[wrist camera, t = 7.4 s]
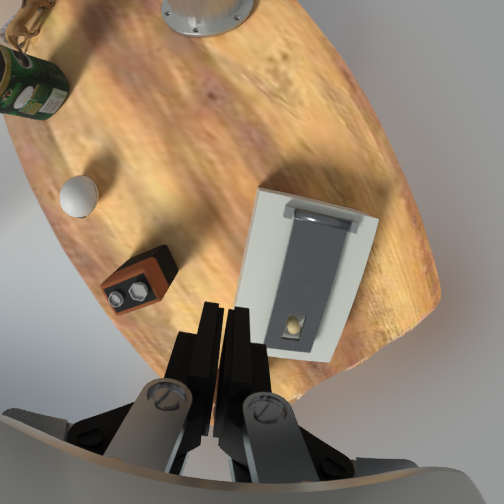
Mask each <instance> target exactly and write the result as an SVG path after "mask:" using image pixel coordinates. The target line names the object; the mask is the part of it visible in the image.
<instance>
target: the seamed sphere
mask: <svg viewBox="0 0 504 504" xmlns="http://www.w3.org/2000/svg"><path fill="white" fill-rule="evenodd" d="M98 198H99V192H98V188H97V186H96V184H95V183H94V181H93V180H92V179H91V178H89V177H86V176H83V175H77V176H74V177H72V178H70V179H68V180H67V181H66V182H65V184H64V185H63V187H62V189H61V192H60V203H61V207H62V208H63V210H64V211H65V212H66V213H67V214H68V215H70V216H72V217H76V218H85V217H86V216H87V215H88V214H90V213H91V212H92V211H93V210H94V208H96V205H97V202H98ZM99 209H100V208H99ZM103 210H104V209H103Z"/></svg>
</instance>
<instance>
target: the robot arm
mask: <svg viewBox="0 0 504 504" xmlns="http://www.w3.org/2000/svg"><path fill="white" fill-rule="evenodd" d="M253 4H254V0H163V1H162V5H161V13H162V17H163V19H164V21H165V23H166V24H167V25H168V26H169V28H171V29H172V30H173V31H175V32H177V33H179V34H181V35H184V36H188V37H196V38H202V37H212V36H217V35H220V34H224V33H226V32H228V31H231V30H233V29H234V28H236V27H238V26H239V25H241V24H242V23H243V22H244V21H245V20H246V19H247V18H248V16H249V15H250V13H251V11H252V9H253ZM195 32H197V33H195ZM223 315H224V308H219V304H218V303H212V302H206V301H205V303H204V307H203V311H202V315H201V319H200V323H199V328H198V332H197V334H192V333H186V332H181V331H179V333H178V335H177V338H176V341H175V344H174V348H173V351H172V354H171V357H170V360H169V363H168V366H167V370H166V373H165V376H164V378H159V379H155V380H152V381H151V382H149V383H147V384H146V385H145V386H144V388H143V389H142V391H141V392H140V394H139V396H138V398H137V399H136V401H135V402H133V403H130V404H127V405H125V406H122V407H119V408H116V409H114V410H111V411H108V412H105V413H102V414H99V415H96V416H93V417H90V418H88V419H84V420H81V421H79V422H77V423H75V424H71V423H68V421H67V420H65V419H60V418H55V417H50V416H46V415H41V414H37V413H33V412H29V411H26V410H22V409H18V408H11V409H7V410H6V411H4V412H3V413H2V414H0V504H486V502H485V500H484V499H483V497H482V495H481V493H480V491H479V490H478V488H477V486H476V485H475V483H474V482H473V481H472V480H471V479H470V477H469V476H468V475H466V474H465V473H464V472H462V471H459V470H456V469H453V468H447V467H418V466H417V465H416V464H415V463H414V462H412V461H410V460H407V459H376V458H359V457H356V458H355V459H354V460H350V459H349V458H348V457H347V456H345V455H344V454H342V453H340V452H339V451H337V450H336V449H334V448H333V447H331V446H329V445H328V444H326V443H324V442H323V441H321V440H320V439H318V438H317V437H315V436H314V435H312V434H311V433H309V432H308V431H306V430H305V429H303V428H302V427H300V426H299V425H298V423H297V420H296V418H295V415H294V412H293V410H292V407H291V406H290V404H289V402H288V401H286V400H285V399H284V398H283V397H281V396H279V395H277V394H274V393H272V391H271V382H270V373H269V364H268V355H267V347H266V344H261V343H252V342H251V337H250V311H249V308H244V307H238V306H235V307H234V310H232V309H229V310H228V316H227V322H226V328H225V334H224V340H223V346H222V352H221V358H220V365H219V374H218V385H217V395H216V406H215V418H214V430H213V437H218V438H219V444H218V446H220V448H221V449H222V450H223V451H224V452H225V453H226V454H228V455H229V467H230V473H231V478H232V482H226V481H216V480H207V479H200V478H193V477H186V476H182V473H183V470H184V467H185V464H186V462H187V459H188V456H189V451H191V450H192V449H194V448H196V447H198V446H200V443H201V435H202V436H208V432H209V425H210V419H211V412H212V406H213V399H214V392H215V386H216V379H217V370H218V360H219V351H220V341H221V332H222V323H223Z"/></svg>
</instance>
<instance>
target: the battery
mask: <svg viewBox="0 0 504 504" xmlns="http://www.w3.org/2000/svg"><path fill="white" fill-rule="evenodd" d="M177 273H178V268H177V266H176V264H175V262H174V260H173V258H172V256H171V253H170V251H169V249H168V247H167V246H166V245H162V246H159V247H157V248H154V249H152V250H150V251H147V252H145V253H143V254H140V255H138V256H136V257H133V258H131V259H129V260H127V261H126V262H125V263H124V264H123V265H122V266H120V267H119V268H118V269H117V270H116V271H115V272H114V273H113V274H111V275H110V276H109V277H108V278H107V279H106V280H105V281H104V282H103V283H102V284H101V286H100V287H101V290H102V291H103V293H104V295H105V297H106V299H107V301H108V302H109V304H110V306H111V308H112V309H113V311H114V313H115V314H116V315H122V314H125V313H128V312H131V311H134V310H137V309H140V308H143V307H145V306H148V305H151V304H154V303H157V302H160V301H161V300H162V299H163V297H164V295H165V293H166V292H167V290H168V288H169V287H170V285H171V283H172V281H173V280H174V278H175V276H176V275H177Z"/></svg>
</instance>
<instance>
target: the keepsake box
mask: <svg viewBox="0 0 504 504" xmlns="http://www.w3.org/2000/svg"><path fill="white" fill-rule="evenodd" d="M296 208H299V209H304V210H308V211H313V212H317V213H321V214H326V215H330V216H334V217H338V218H342V219H346V220H349V221H350V226H349V229H348V230H347V234H346V238H345V242H344V246H343V250H342V253H341V257H340V261H339V264H338V268H337V271H336V275H335V278H334V282H333V285H332V288H331V292H330V295H329V298H328V301H327V305H326V308H325V311H324V314H323V317H322V320H321V323H320V326H319V329H318V332H317V335H316V338H315V341H314V344H313V347H312V350H311V352H310V353H306V352H296V351H288V350H280V349H272V348H267V355H268V356H271V357H279V358H288V359H297V360H307V361H318V362H330V360H331V358H332V355H333V353H334V351H335V348H336V346H337V343H338V341H339V338H340V336H341V333H342V331H343V328H344V326H345V323H346V321H347V318H348V315H349V313H350V310H351V307H352V304H353V302H354V299H355V296H356V293H357V290H358V287H359V285H360V282H361V279H362V276H363V272H364V269H365V266H366V263H367V260H368V257H369V253H370V250H371V247H372V243H373V240H374V236H375V233H376V229H377V226H378V222H379V219H377V218H375V217H373V216H371V215H369V214H366V213H364V212H362V211H359V210H355V209H351V208H348V207H344V206H340V205H336V204H332V203H328V202H324V201H320V200H316V199H311V198H307V197H303V196H298V195H294V194H290V193H285V192H281V191H276V190H271V189H266V188H262V187H257V192H256V197H255V202H254V207H253V211H252V216H251V221H250V226H249V231H248V236H247V240H246V245H245V250H244V255H243V260H242V265H241V270H240V275H239V280H238V285H237V290H236V295H235V300H234V304H233V309H232V310H234V307H235V306H238V307H244V308H249V311H250V337H251V342H252V343H261V344H263V341H264V337H265V334H266V330H267V326H268V322H269V318H270V314H271V310H272V306H273V302H274V298H275V294H276V290H277V286H278V282H279V278H280V274H281V270H282V266H283V262H284V257H285V253H286V249H287V245H288V240H289V236H290V232H291V227H292V223H293V219H294V212H295V209H296ZM304 319H305V316H304V315H297V314H290V313H289V314H288V318H287V321H286V325H285V328H284V332H283V335H282V337H288V338H296V339H298V338H299V335H300V331H301V328H302V325H303V322H304Z"/></svg>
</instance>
